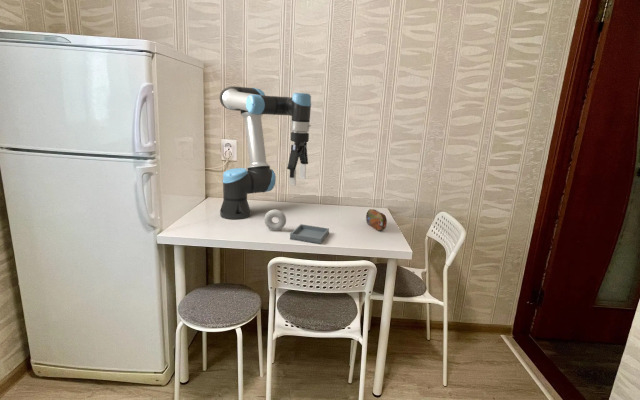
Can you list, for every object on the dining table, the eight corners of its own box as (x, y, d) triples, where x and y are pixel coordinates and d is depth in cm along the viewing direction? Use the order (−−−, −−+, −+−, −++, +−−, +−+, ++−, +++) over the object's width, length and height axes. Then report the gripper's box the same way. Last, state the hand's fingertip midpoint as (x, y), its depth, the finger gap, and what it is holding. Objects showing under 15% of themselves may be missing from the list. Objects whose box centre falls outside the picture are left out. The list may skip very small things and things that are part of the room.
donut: (263, 230, 154) (263, 209, 152) (265, 228, 158) (265, 207, 155) (285, 232, 154) (285, 211, 151) (286, 229, 157) (287, 209, 155)
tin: (364, 222, 173) (366, 207, 171) (370, 222, 175) (371, 206, 172) (381, 233, 160) (383, 216, 158) (386, 232, 161) (388, 215, 159)
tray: (289, 239, 146) (290, 234, 146) (300, 229, 159) (300, 224, 159) (320, 244, 143) (320, 239, 142) (328, 233, 156) (328, 228, 155)
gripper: (299, 135, 129) (296, 189, 135) (316, 130, 152) (313, 176, 158) (280, 133, 130) (278, 186, 136) (300, 129, 153) (298, 174, 160)
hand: (297, 181), depth 147 cm, fingers open, 13 cm apart
